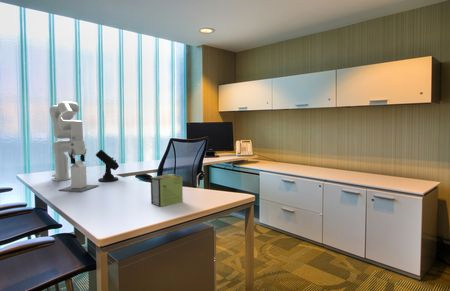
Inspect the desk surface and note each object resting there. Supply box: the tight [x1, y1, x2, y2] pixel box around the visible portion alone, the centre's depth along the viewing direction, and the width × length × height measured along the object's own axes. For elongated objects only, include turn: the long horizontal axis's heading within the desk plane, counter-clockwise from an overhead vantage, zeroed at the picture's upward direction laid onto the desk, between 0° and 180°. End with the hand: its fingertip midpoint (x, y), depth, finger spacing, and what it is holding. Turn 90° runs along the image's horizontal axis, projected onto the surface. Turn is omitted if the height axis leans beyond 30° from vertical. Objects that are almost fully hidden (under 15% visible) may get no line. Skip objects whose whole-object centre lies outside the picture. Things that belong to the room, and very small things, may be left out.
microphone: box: [95, 149, 120, 183], centre depth 237 cm, size 15×17×25 cm
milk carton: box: [70, 159, 88, 188], centre depth 209 cm, size 7×7×19 cm
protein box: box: [150, 173, 184, 208], centre depth 173 cm, size 10×15×16 cm
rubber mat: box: [58, 184, 100, 193], centre depth 210 cm, size 18×18×1 cm
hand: (77, 162), depth 209 cm, fingers open, 9 cm apart
